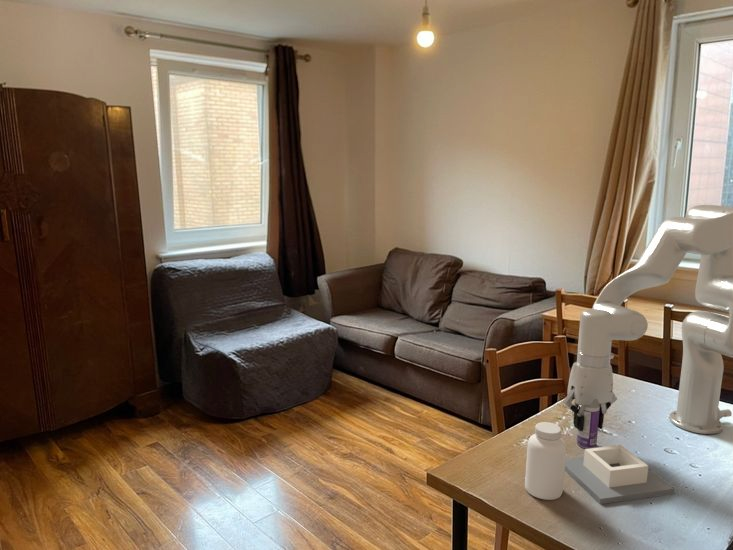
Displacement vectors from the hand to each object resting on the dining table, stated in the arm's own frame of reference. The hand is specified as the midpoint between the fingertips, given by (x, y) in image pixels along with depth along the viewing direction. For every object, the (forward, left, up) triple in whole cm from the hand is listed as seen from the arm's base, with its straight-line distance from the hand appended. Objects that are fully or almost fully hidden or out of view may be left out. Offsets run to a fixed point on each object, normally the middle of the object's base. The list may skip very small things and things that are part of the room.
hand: (587, 426), depth 138 cm
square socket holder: (+3, +15, -5) cm, 16 cm away
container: (0, 0, -5) cm, 5 cm away
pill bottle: (+21, +16, -5) cm, 27 cm away
